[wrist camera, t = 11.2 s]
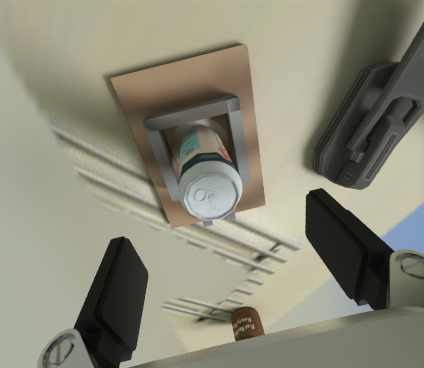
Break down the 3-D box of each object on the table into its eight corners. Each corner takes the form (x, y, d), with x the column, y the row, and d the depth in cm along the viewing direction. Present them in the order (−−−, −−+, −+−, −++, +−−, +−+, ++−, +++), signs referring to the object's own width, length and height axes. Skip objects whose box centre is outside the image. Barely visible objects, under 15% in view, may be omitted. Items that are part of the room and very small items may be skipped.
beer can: (213, 167, 27) (232, 230, 16) (176, 158, 26) (170, 220, 15) (225, 130, 25) (256, 175, 14) (185, 119, 24) (186, 159, 13)
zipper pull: (604, -80, 15) (393, 206, 26) (488, -39, 21) (355, 181, 32) (521, -138, 13) (331, 196, 24) (419, -76, 19) (303, 172, 30)
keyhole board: (113, 77, 22) (99, 79, 18) (244, 44, 22) (255, 40, 18) (172, 224, 32) (170, 243, 28) (263, 201, 32) (272, 217, 28)
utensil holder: (263, 312, 46) (287, 385, 35) (241, 326, 47) (257, 399, 37) (246, 302, 43) (266, 377, 33) (224, 317, 45) (236, 393, 34)
